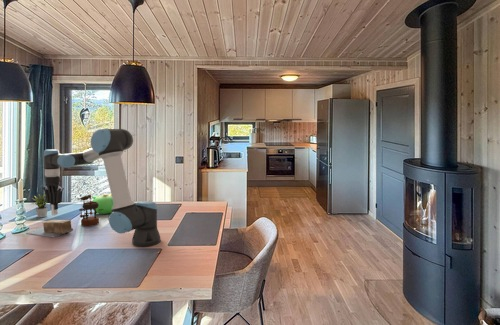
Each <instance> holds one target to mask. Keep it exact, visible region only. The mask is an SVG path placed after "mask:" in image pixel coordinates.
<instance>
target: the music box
mask: <svg viewBox="0 0 500 325" xmlns="http://www.w3.org/2000/svg"><path fill="white" fill-rule="evenodd" d="M76 199H77V201H79V200H80V201H83V203H82V208H79V209H78V210H79V212H80V215H79V217H80V218H81V219H80V218H79V219H80V223H81V224H80V225H81V226H82V227H93V226H97V225H99V224H100V217H98V216H97V215H98V214H99V212H96V208H98V206H99V204H98V203H97V202H93V200H92V195H91V194H87V195H84V196H82V197H80V198H76ZM89 199H90V200H89ZM87 200H89V201H87ZM85 201H87V202H85ZM93 209H94V210H93ZM100 210H104V209H100ZM88 211H89V212H88ZM93 211H94V212H93ZM83 212H84V214H83ZM92 215H93V216H92Z"/></svg>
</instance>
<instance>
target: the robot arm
mask: <svg viewBox="0 0 500 325" xmlns="http://www.w3.org/2000/svg"><path fill="white" fill-rule="evenodd" d="M133 144H134V136H133V134H132V133H131V132H130V131H128V130H127V129H124V128H99V129H96V130H95V131H93V133H92V136H91V138H90V146H91V147H90V148H89V149H85V150H84V151H81V152H73V153H60V151H59V149H45V150H43V163H44V164H43V166H44V176H45V177H44V182H45V183H46V185H45V186H43V187H42V189H43V191H44V195H45V199H47V204H50V209H51V216H56V215H58V214H59V212H58V210H59V207H58V206H59V204H61V202H62V198H63V196H62V195H63V191H64V189H65V188H64V187H61V185H60V182H61V176H60V174H61V171H60V169H61V168H65V169H66V168H71V167H76V166H85V165H87V166H88V165H91V164H93V163H94V162H95V161H97V160H99V159H102V161H103V165H104V168H105V173H106V177H107V182H108V185H109V190H110V194H111V195H112V199H113V203H114V206H113V207H112V213H109V217H108V224H109V226H110V228H111V229H112V230H113V231H114V232H115V233H118V234H125V233H129V232H131V231H134V232H133V235H132V239H131V244H132V245H133V246H135V247H141V248H142V247H143V248H144V247H145V248H146V247H153V246H155V245H158V244H159V243H160V242H161V234H160V232H159V230H158V229H159V228H158V208H157V207H158V206H157V203H156V202H154V201H150V200H149V201H148V200H139V201H135V202H134V201H133V200H132V198H131V193H130V189H129V185H128V181H127V176H126V172H125V169H124V164H123V160H122V159H123V158H122V155H123V154H124V151H127V150H129V149H131V147H132V146H133ZM49 200H50V201H49Z"/></svg>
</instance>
